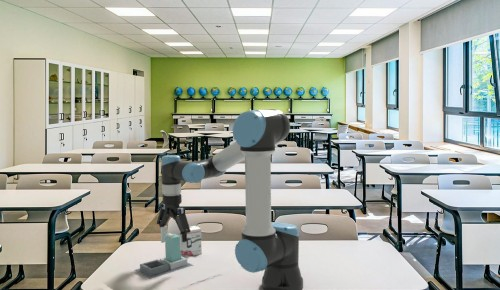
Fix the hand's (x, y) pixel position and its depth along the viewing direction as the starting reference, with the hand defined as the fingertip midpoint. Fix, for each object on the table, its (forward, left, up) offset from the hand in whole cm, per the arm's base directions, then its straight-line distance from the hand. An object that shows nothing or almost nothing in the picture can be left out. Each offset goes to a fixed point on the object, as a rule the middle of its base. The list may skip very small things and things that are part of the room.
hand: (173, 245), depth 187 cm
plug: (0, 0, -8) cm, 8 cm away
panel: (0, +5, -9) cm, 10 cm away
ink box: (+8, -14, -9) cm, 19 cm away
